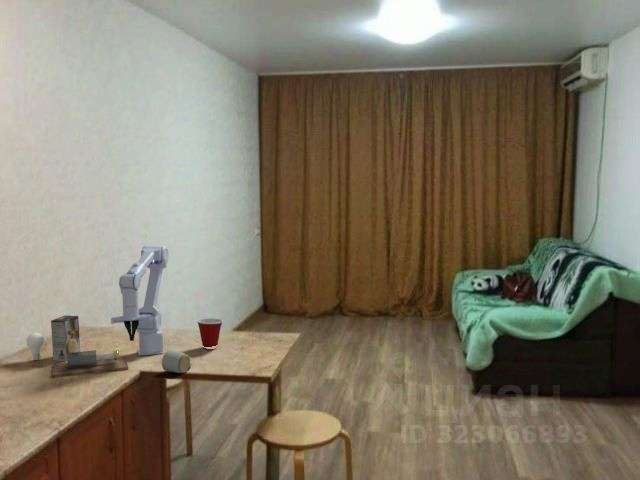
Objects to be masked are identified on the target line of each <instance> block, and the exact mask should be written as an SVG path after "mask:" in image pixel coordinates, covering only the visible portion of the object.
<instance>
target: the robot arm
mask: <svg viewBox="0 0 640 480" xmlns="http://www.w3.org/2000/svg"><path fill="white" fill-rule="evenodd" d="M168 262H169V250H168V248H167V246H166V245H163V246H158V245H155V246H153V245H152V246H151V245H143V246H142V248H141V251H140V257H139V260H138V262H134V263H133V264H132V266H131V267H130V268H129V269H128V271H127V272H126V273H123V274H122V275H120V277H119V280H118V287H119V289H120V294H121V295H122V316H115V317H110V324H118V323H123V325H124V326H125V327H124V328H125V329H126V330H127V333H128V336H129V341H131V342H134V340H135V335H136V332H137V333H138V347H139V348H138V349H137V353H138V356H139V357H140V356H149V355H150V356H151V355H159V354H160V355H161V354H164V339H163V330H161V327H162V312H161V311H160V310H159V309H158V308H157V303H158V298H159V292H160V287H161V282H162V275H163V270H164V269H166V268H167V264H168ZM147 269H149V275H148V276H149V277H148V281H147V286H146V291H145V298H144V302H143V306H142V307H140V308H139V306H140V305H139V289H140V287H141V283H142V278H143V277H144V276H145V274H146V272H147Z"/></svg>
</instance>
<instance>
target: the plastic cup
mask: <svg viewBox="0 0 640 480" xmlns="http://www.w3.org/2000/svg"><path fill="white" fill-rule="evenodd" d="M196 322H197V325H198V328H199V333H200V334H199V335H200V338H201V339H200V340H201V343H202V344H201V345H202V347H203V346H204V347H212V346H216V345H218V344H219V339H220V335H221V334H220V333H221V328H222V325H223V322H224V320H223V319H220V318H199V319H196ZM218 346H219V345H218Z"/></svg>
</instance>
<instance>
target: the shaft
mask: <svg viewBox="0 0 640 480" xmlns="http://www.w3.org/2000/svg"><path fill="white" fill-rule="evenodd" d="M119 352H120V351H119V350H113V353H101V354H96V360H103V359H113V358H114V360H119V357H120V353H119Z"/></svg>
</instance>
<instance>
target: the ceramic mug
mask: <svg viewBox="0 0 640 480" xmlns="http://www.w3.org/2000/svg"><path fill="white" fill-rule="evenodd" d="M161 367H162V369H163V370H164V371H165V372H171V373H177V374H184V373H186V372H187V371H189V369H190V368H192V363H191V357H190V356H189V355H188V354H186V353H184V352H180V351H176V350H174V349H170V350H167V351H165V353H163V355H162V358H161ZM189 367H190V368H189Z"/></svg>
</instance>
